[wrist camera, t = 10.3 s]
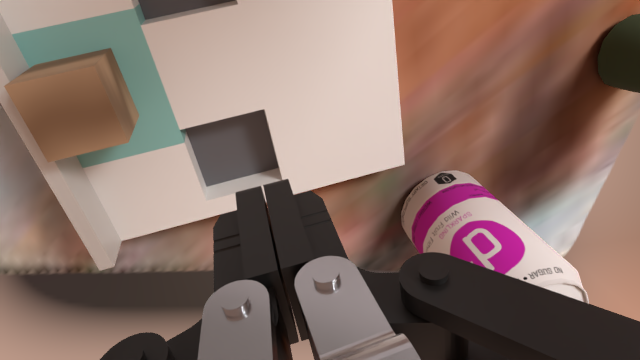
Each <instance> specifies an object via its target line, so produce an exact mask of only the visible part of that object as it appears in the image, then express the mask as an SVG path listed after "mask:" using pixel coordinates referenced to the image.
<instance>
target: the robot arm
mask: <svg viewBox="0 0 640 360" xmlns="http://www.w3.org/2000/svg"><path fill="white" fill-rule="evenodd" d="M263 187H264V192H265V196H266V201H267V204H266V201H265V197H264V194H263V190H262V187H261V186H258V187H254V188H250V189H246V190H242V191H238V192H236V193H235V195H236V205H237V210H236V211H232V212H228V213H225V214H221V215H220V217H219V219H218V220H217V222H216V224H215V226H214V227H213V240H214V293H213V294H212V296H211V297H210V298H209V299H208V301H207V302H206V304H205V307H204V310H203V317H202V319H201V320H200V321H199V322H197V323H196V324H195V325H194V326H192V327H191V328H189V329H188V330H186V331H184V332H182V333H181V334H179V335H177V336H176V337H174V338H172V339H170V340H168V341H167V342H166V341H165V339H164V338H162V337H161V336H160V335H158V334H155V333H139V334H136V335H133V336H130V337H128V338H126V339H124V340H122V341H121V342H119V343H118V344H116V345H115V346H113V347H112V348H111V349H110V350H109V351H108V352H107V353H106V354H105V355H104V356H103V357H102V358H101V359H100V360H293V359H292V353H291V348H290V344H293V343H297V342H298V341H299V340H298V335H297V331H296V326H295V322H294V317H293V313H294V316H295V319H296V323H297V326H298V330H299V333H300V337H301V340H302V341H303V340H306V339H309V341H310V345H311V348H312V352H313V356H314V359H315V360H640V322H639V321H636V320H634V319H631V318H628V317H625V316H622V315H619V314H617V313H614V312H611V311H608V310H605V309H602V308H599V307H596V306H594V305H591V304H588V303H585V302H582V301H579V300H577V299H574V298H571V297H568V296H565V295H562V294H559V293H557V292H554V291H551V290H548V289H545V288H542V287H539V286H537V285H534V284H531V283H528V282H525V281H522V280H519V279H517V278H514V277H511V276H508V275H505V274H502V273H499V272H497V271H494V270H491V269H488V268H485V267H482V266H479V265H477V264H474V263H471V262H468V261H465V260H462V259H459V258H457V257H454V256H451V255H448V254H444V253H438V252H427V253H421V254H418V255H415V256H413V257H411V258H410V259H408V260H407V261H406V262H405V263H404V264H403V265H402V267H401V269H400V272H399V273H374V272H369V271H365V270H362V269H360V268H358V267H356V266H355V264H353V263H352V262H351V261H350V260H349V259H348V257H347V255H346V253H345V250H344V248H343V246H342V243H341V241H340V239H339V236H338V234H337V232H336V229H335V227H334V225H333V222H332V221H331V218H330V215H329V213H328V212H327V208H326V206H325V204H324V201H323V199H322V198H321V197H319V196H318V195H316V194H315V193H313V192H312V191H308V192H304V193H300V194H296V195H293V192H292V189H291V186H290V183H289V180H288V179H284V180H281V181H277V182H273V183H269V184H265V185H263ZM267 206H268V208H267ZM290 302H291V303H290ZM291 306H292V308H291ZM292 309H293V313H292Z"/></svg>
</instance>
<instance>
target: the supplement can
mask: <svg viewBox="0 0 640 360" xmlns="http://www.w3.org/2000/svg"><path fill="white" fill-rule="evenodd" d="M401 220H402V227H403V228H404V230H405V232H406V234H407V236H408V237H409V239H410V240H411V242H412V243H413V245H414V246H415V247H416V249H417V250H418V252H419V253H420V254H421V253H427V252H438V253H444V254H448V255H451V256H454V257H457V258H459V259H462V260H465V261H468V262H471V263H474V264H477V265H479V266H482V267H485V268H488V269H491V270H494V271H497V272H499V273H502V274H505V275H508V276H511V277H514V278H517V279H519V280H522V281H525V282H528V283H531V284H534V285H537V286H539V287H542V288H545V289H548V290H551V291H554V292H557V293H559V294H562V295H565V296H568V297H571V298H574V299H577V300H579V301H582V302H585V303H588V304H589V300H588V295H587V292H586V291H585V290H584V289H583V286H582V284H581V280H580V277H579V273H578V271H577V270H576V269H575V268H574V267H573V266H572V265H571V264H570V263H568V262H567V261H566V260H565V259H564V258H563V257H562V256H561V255H559V254H558V253H557V252H556V251H555V250H554V249H553V248H552V247H550V246H549V245H548V244H547V243H546V242H545V241H544V240H543V239H541V238H540V237H539V236H538V235H537V234H536V233H535V232H533V231H532V230H531V229H530V228H529V227H528V226H527V225H526V224H524V223H523V222H522V221H521V220H520V219H519V218H518V217H517V216H515V215H514V214H513V213H512V212H511V211H510V210H509V209H508V208H506V207H505V206H504V205H503V204H502V203H501V202H500V201H499V200H497V199H496V198H495V197H494V196H493V195H492V194H491V193H490V192H488V191H487V190H486V189H485V188H484V187H483V186H482V185H481V184H479V183H478V182H477V181H476V180H475V179H474V178H473V177H471V176H470V175H469V174H467V173H464V172H460V171H457V170H454V171H443V172H440V173H437V174H435V175H432V176H430V177H427V178H426V179H425V180H424V181H422V182H421V183H420V184H418V185H417V186H416V187H415V188H414V189H413V190H412V192H411V193H410V194H409V196H408V197H407V199H406V200H405V203H404V206H403V209H402V212H401Z"/></svg>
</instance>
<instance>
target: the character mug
mask: <svg viewBox="0 0 640 360" xmlns="http://www.w3.org/2000/svg"><path fill="white" fill-rule="evenodd" d="M598 73H599V75H600V77H601V79H602V80H603V82H604V84H607V85H609V86H612V87H616V88H620V89H624V90H628V91H632V92H638V93H640V14H636V15H631V16H630V17H628V18H626V19H625V20H623V21H621V22H620V23H618V24H616V25H615V26H614V27H613V29H612V30H611V31H610V32H609V34H608V35H607V36H606V37H605V39H604V40H603V42H602V46H601V49H600V52H599V55H598Z"/></svg>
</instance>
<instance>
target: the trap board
mask: <svg viewBox="0 0 640 360" xmlns="http://www.w3.org/2000/svg"><path fill="white" fill-rule="evenodd" d="M108 48H111V49H112V52H113V54H114V56H115V59H116V61H117V63H118V66H119V68H120V71H121V73H122V75H123V78H124V80H125V82H126V85H127V87H128V90H129V92H130V94H131V97H132V99H133V102H134V104H135V106H136V109H137V111H138V113H139V118H138V120H137V123H136V125H135V128H134V130H133V133H132V135H131V138H130V140H129V143H125V144H121V145H117V146H113V147H109V148H105V149H101V150H97V151H93V152H89V153H84V154H80V155H76V156H72V157H68V158H64V159H60V160H56V161H52V162H47V160H46V158H45V157H44V155H43V153H42V151H41V150H40V148H39V146H38V144H37V143H36V141H35V139H34V137H33V136H32V134H31V132H30V131H29V129H28V127H27V125H26V124H25V122H24V120H23V118H22V117H21V115H20V113H19V111H18V110H17V108H16V106H15V104H14V103H13V101H12V99H11V98H10V96H9V94H8V92H7V91H6V89H5V87H4V86H5V85H6V84H8V83H9V82H11V81H12V80H14V79H15V78H16V77H18V76H19V75H21V74H22V73H24V72H25V71H26V70H28V69H29V68H31V67H32V66H34V65H36V64H40V63H45V62H49V61H54V60H58V59H63V58H67V57H72V56H76V55H81V54H85V53H90V52H94V51H99V50H103V49H108ZM0 103H1V105H2V107H3V109H4V110H5V112H6V114H7V115H8V117H9V119H10V120H11V122H12V124H13V125H14V127H15V129H16V130H17V132H18V134H19V136H20V137H21V139H22V141H23V142H24V144H25V146H26V147H27V149H28V151H29V152H30V154H31V156H32V157H33V159H34V161H35V162H36V164H37V166H38V168H39V169H40V171H41V173H42V174H43V176H44V178H45V179H46V181H47V183H48V184H49V186H50V188H51V189H52V191H53V193H54V194H55V196H56V198H57V200H58V201H59V203H60V205H61V206H62V208H63V210H64V211H65V213H66V215H67V216H68V218H69V220H70V221H71V223H72V225H73V227H74V228H75V230H76V232H77V233H78V235H79V237H80V238H81V240H82V242H83V243H84V245H85V247H86V248H87V250H88V252H89V253H90V255H91V257H92V259H93V260H94V262H95V264H96V265H97V267H98V269H99V270H104V269H107V268H111V267H114V265H115V262H116V259H117V255H118V252H119V248H120V245H121V242H122V241H124V240H128V239H131V238H135V237H139V236H143V235H146V234H150V233H154V232H157V231H161V230H165V229H168V228H172V227H176V226H179V225H183V224H187V223H191V222H194V221H198V220H202V219H205V218H209V217H213V216H216V215H220V214H224V213H227V212H231V211H235V210H237V205H236V195H235V193H236V192H238V191H242V190H246V189H250V188H254V187H258V186H261V187H262V190H263V194H264V197H265V201H266V196H265V192H264V187H263V185H265V184H269V183H273V182H277V181H281V180H284V179H288V180H289V183H290V186H291V189H292V192H293V195H294V194H298V193H301V192H305V191H309V190H312V189H316V188H320V187H323V186H327V185H331V184H335V183H338V182H342V181H346V180H349V179H353V178H357V177H360V176H364V175H368V174H371V173H375V172H379V171H383V170H386V169H390V168H394V167H397V166H401V165H405V162H404V149H403V136H402V123H401V110H400V98H399V85H398V72H397V59H396V46H395V33H394V20H393V7H392V0H0ZM266 202H267V201H266Z"/></svg>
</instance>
